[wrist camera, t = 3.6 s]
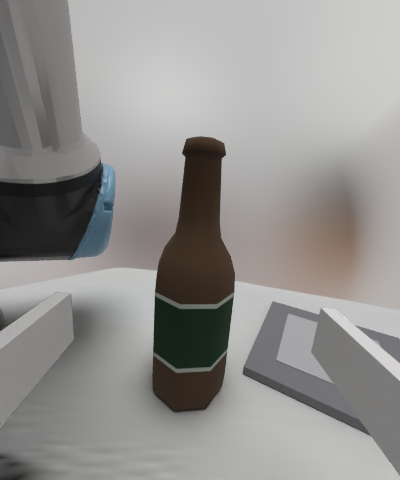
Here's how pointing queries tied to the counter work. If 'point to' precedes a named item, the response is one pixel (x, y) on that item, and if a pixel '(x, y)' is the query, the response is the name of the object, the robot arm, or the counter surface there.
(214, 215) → the beer bottle
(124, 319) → the counter surface
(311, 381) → the picture frame
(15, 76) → the robot arm
